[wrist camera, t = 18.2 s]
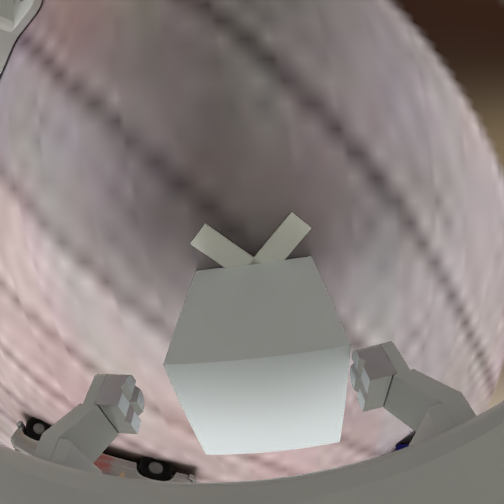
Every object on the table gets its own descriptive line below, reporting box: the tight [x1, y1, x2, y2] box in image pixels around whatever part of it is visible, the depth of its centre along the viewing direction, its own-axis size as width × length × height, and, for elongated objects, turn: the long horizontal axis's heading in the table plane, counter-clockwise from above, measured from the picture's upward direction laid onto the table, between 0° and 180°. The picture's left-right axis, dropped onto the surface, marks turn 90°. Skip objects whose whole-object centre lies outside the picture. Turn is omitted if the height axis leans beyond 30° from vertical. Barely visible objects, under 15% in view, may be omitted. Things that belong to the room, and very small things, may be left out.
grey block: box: [163, 256, 351, 455], centre depth 16 cm, size 7×7×9 cm
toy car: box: [11, 418, 196, 483], centre depth 25 cm, size 11×25×10 cm, turn 78°
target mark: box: [190, 212, 311, 268], centre depth 19 cm, size 9×9×1 cm
